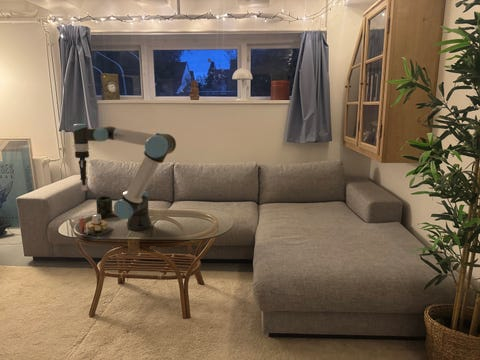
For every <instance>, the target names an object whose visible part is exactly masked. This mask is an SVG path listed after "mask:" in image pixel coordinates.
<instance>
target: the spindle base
mask: <svg viewBox="0 0 480 360" xmlns="http://www.w3.org/2000/svg"><path fill="white" fill-rule="evenodd" d="M101 220H102V217H101V215H100V214H97V213H94V214H92V215H91V221H92V225H100V224H101ZM111 231H114V227H109V226H108V227H107V228H105V229H101V230H97V231H95V230H92V231H91V230H89V228H88V226H86V228H85V229H84V233H86V234H87V235H88V234H92V235H91V236H94V235H97V236H96V237H99V236H101V234H102V235H104V234H107V233H108V232H109V233H110V232H111ZM84 233H83V234H84ZM103 233H104V234H103ZM86 234H85V235H86ZM87 235H86V236H87ZM98 235H99V236H98ZM88 236H89V235H88Z"/></svg>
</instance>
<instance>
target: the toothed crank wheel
mask: <svg viewBox="0 0 480 360" xmlns="http://www.w3.org/2000/svg"><path fill="white" fill-rule="evenodd" d="M78 221H79V224H78V225H79V233H81V234H84V230H85V229H86V226H88V228H89V230H91V231H92V230H95V231H97V230H101V229H105V228H107V227H109V225H108V223H109V222H108V221H107V220H104V219H103V220H102V219H101V224H100V225H92V220H90V221H88V222H86V223H85V220H84V217H79V218H78Z"/></svg>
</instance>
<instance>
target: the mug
mask: <svg viewBox="0 0 480 360" xmlns="http://www.w3.org/2000/svg"><path fill="white" fill-rule="evenodd" d="M95 201H96V202H95V204H96V214H100V215H101V218H105V217H106V218H107V217H110V215H111V216H112V215H113V214H112V213H113V212H114V211H113V197H112V196H109V195H106V196H105V195H101V196H97V197H95Z"/></svg>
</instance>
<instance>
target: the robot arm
mask: <svg viewBox="0 0 480 360" xmlns="http://www.w3.org/2000/svg"><path fill="white" fill-rule="evenodd" d="M72 128H73V129H72V130H73V131H72V132H73V141H74V143H73V144H74V145H73V147H74V158H76V159H79V160H78V167H79V172H80V173H79V174H80V179H79V180H80V181H81V191H83V192H84V191H88V182H87V180H88V177H87V162H88V161H87V160H86V159H87V158H89V157H90V151H89V150H90V149H89V148H90V147H89V142H99V143H100V142H106V141H107V140H110V141H117V142H122V143H127V144H133V145H138V146H139V145H140V146H144V149H145V150H144V152H143V155H144V158H143V159H142V162H141V163H140V165H139V167H138V169H137V170H136V173H135V175H134V177H133V179H132V181H131V183H130V185H129V186H128V189H127V190H124V191H123V193H122V195H121V197H120V198H119V199H117V200H116V201H115V203H114V205H113V210H114V211H113V212H114V214H115V215H116V216H117V217H118V218H119V219H122V220H127V221H126V229H127V230H130V231H145V230H149V229H151V228H152V226H153V225H152V224H153V223H152V221H151V218H150V214H149V193H148V191H146V190H147V187H148V185H149V183H150V181H151V179H152V178H153V176H154V174H155V172H156V170H157V168H158V166H159V164H163V163H164V161H165V159H166V157H167V155H169V154H172V153H173V152H174V151H175V149H176V147H177V143H176V142H177V141H176V138H175V137H173V135H171V134H168V133H159V132H156V133H148V132H147V133H146V132H141V131H135V130H130V129H126V128H125V129H124V128H118V127H116V126H105V127H88V124H86V123H75V124H73V127H72Z"/></svg>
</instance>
